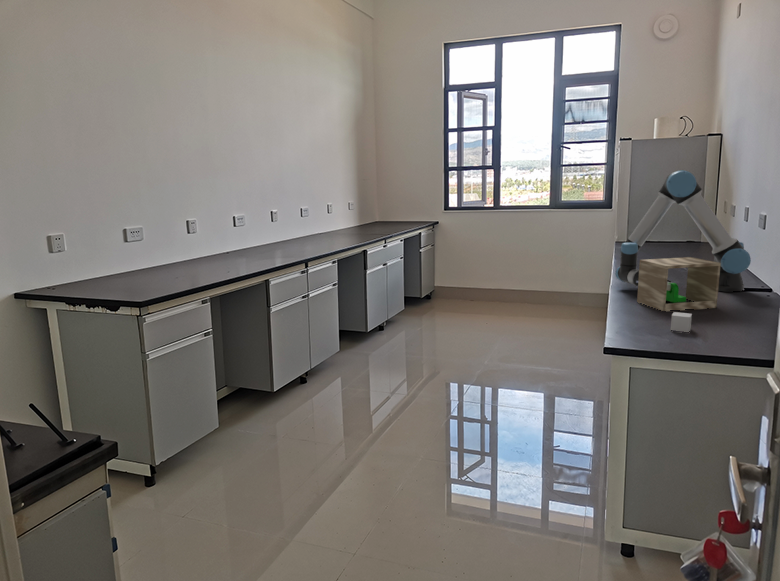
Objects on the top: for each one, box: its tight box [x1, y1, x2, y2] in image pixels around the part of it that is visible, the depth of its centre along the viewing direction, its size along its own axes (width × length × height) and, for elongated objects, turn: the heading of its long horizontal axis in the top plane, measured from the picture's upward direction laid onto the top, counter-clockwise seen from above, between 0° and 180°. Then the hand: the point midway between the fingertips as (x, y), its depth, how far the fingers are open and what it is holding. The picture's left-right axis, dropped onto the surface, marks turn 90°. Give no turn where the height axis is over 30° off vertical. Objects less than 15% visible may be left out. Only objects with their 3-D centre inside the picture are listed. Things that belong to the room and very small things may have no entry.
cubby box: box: [636, 256, 721, 312], centre depth 244 cm, size 25×18×19 cm
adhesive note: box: [670, 311, 693, 333], centre depth 207 cm, size 6×6×6 cm
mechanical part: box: [666, 282, 687, 303], centre depth 250 cm, size 12×6×8 cm, turn 10°
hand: (672, 287), depth 246 cm, fingers closed on mechanical part, 2 cm apart
